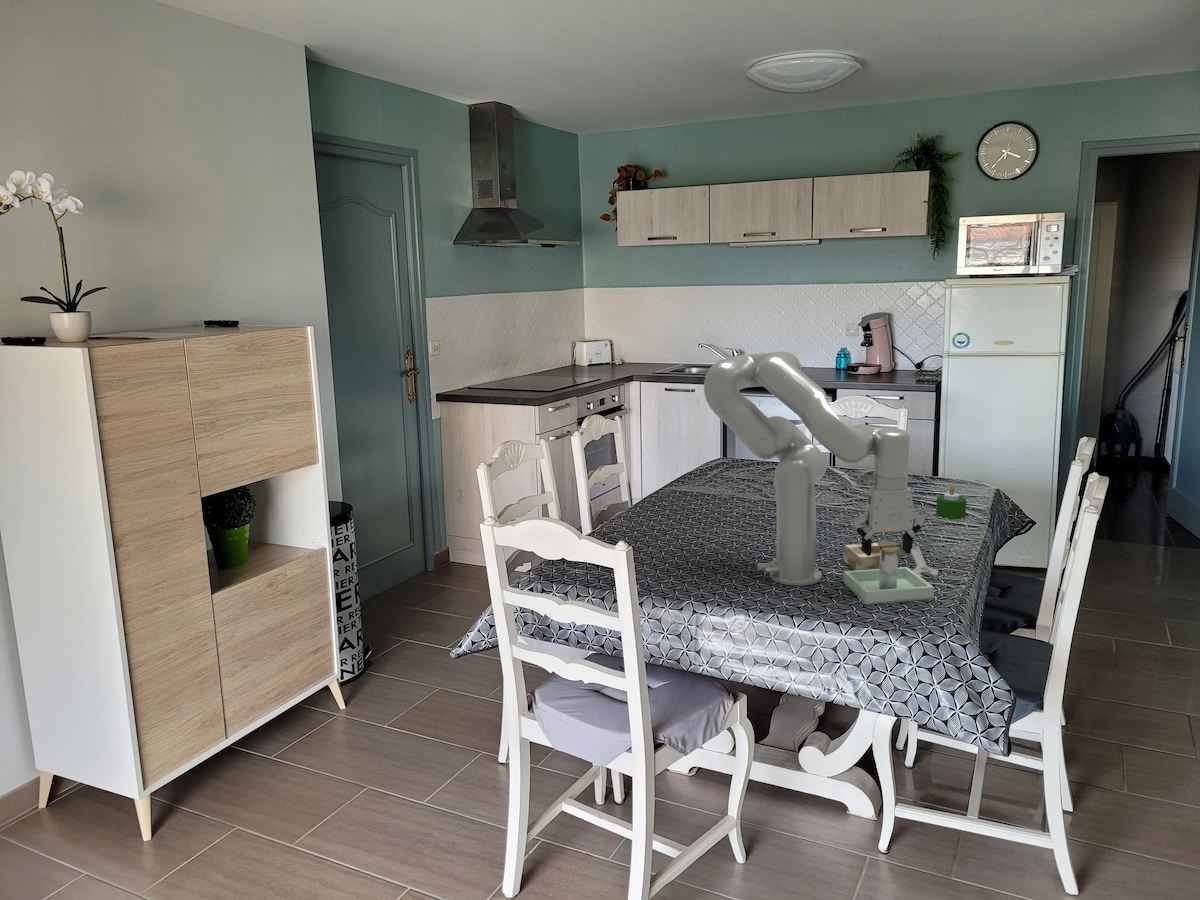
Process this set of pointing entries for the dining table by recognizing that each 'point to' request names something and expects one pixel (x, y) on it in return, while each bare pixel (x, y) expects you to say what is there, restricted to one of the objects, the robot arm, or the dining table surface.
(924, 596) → the tray
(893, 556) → the gold-capped cylinder
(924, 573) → the adjustable wrench
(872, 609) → the dining table surface
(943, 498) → the candle
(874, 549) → the block
